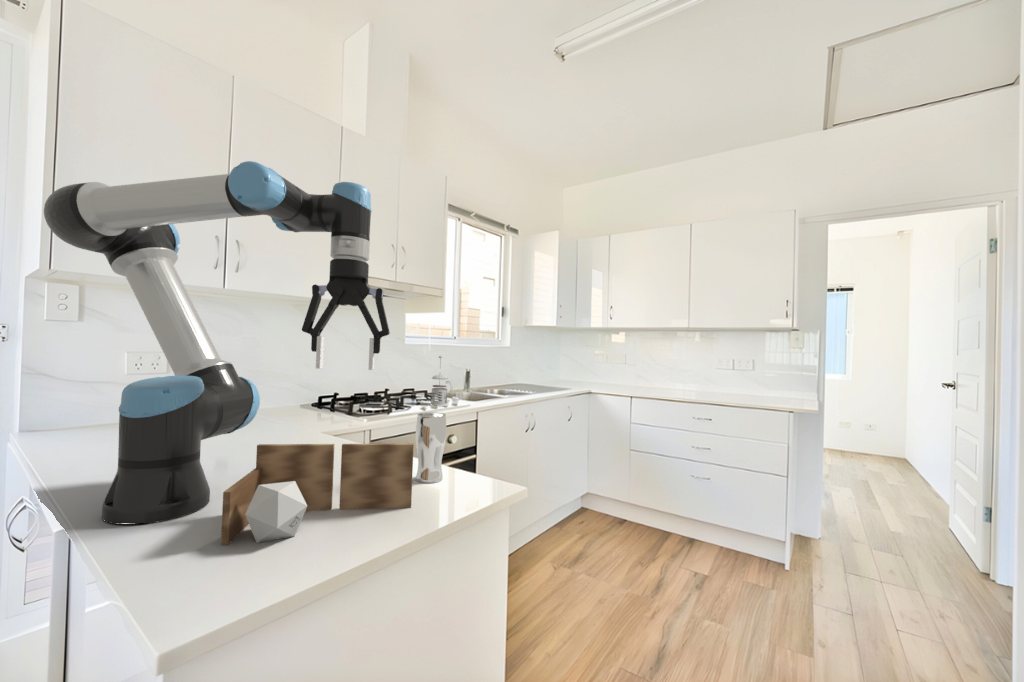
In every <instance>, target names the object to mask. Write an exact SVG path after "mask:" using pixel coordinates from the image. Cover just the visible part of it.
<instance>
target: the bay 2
mask: <svg viewBox="0 0 1024 682" xmlns="http://www.w3.org/2000/svg"><path fill="white" fill-rule="evenodd" d="M414 447H415V445H414V443H410V442H409V443H408V442H407V443H342V444H341V457H340V458H341V459H340V460H341V462H340V482H339V485H340V486H339V487H340V488H339V508H338V510H340V511H343V510H346V511H347V510H370V509H371V510H373V509H374V510H376V509H377V510H379V509H406V508H410V509H411V508H412V495H413V494H412V492H413V473H414V472H413V470H414V469H413V468H414V467H413V466H414Z"/></svg>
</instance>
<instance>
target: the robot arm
mask: <svg viewBox="0 0 1024 682" xmlns="http://www.w3.org/2000/svg"><path fill="white" fill-rule="evenodd" d="M332 186H333V187H332V191H331V194H310V193H308V192H306V191H304V190H303V189H301V188H299V186H297V185H295V184H294V183H292V182H290V181H289V180H287V179H286V178H284V177H283V176H282V175H281V174H279V173H277V171H275V170H273V168H271V167H268V166H266V165H264V164H262V163H259V162H258V161H257V162H256V161H252V160H251V161H249V160H247V161H243V162H240V163H239V164H238V165H236V166H235V167H233V168H232V169H231V171H230V173H224V174H215V175H207V176H206V175H205V176H196V177H185V178H175V179H169V180H158V181H149V182H147V181H146V182H141V183H138V182H137V183H130V184H121V185H112V186H110V185H107V184H105V183H102V182H98V181H91V182H82V183H80V182H79V183H74V184H69V185H66V186H62V187H60V188H58V189H56V190H55V191H53V192H52V193H51V194H50V195H49V196H48V198H47V199H46V200H45V203H44V207H43V216H44V219H45V222H46V225H47V226H48V228H49V229H50V231H51V232H52V233H53V234H54V235H55V236H56V237H58V238H59V239H60V240H62V241H63V242H65V243H66V244H68V245H70V246H72V247H75V248H77V249H81V250H86V251H89V252H94V253H98V254H99V253H100V254H102V255H104V256H105V258H106V260H107V262H108V264H109V266H110V268H111V270H112V271H113V272H114V274H117V275H120V276H122V277H124V278H125V279H126V280H127V281H128V284H129V286H130V288H131V290H132V292H133V293H134V296H135V298H136V300H137V302H138V305H139V306H140V308H141V310H142V312H143V314H144V316H145V318H146V320H147V323H148V325H149V326H150V328H151V330H152V332H153V334H154V336H155V338H156V340H157V342H158V344H159V347H160V348H161V350H162V352H163V354H164V356H165V359H166V360H167V362H168V365H169V367H170V369H171V371H172V372H173V374H174V375H167V376H158V377H157V376H156V377H151V378H144V379H141V380H137V381H133V382H131V383H128V384H127V385H126V386H124V388H123V390H122V391H121V397H120V398H121V399H120V404H119V407H118V413H119V417H118V422H119V423H118V453H117V456H118V457H117V459H118V460H117V470H116V474H115V476H114V478H113V480H112V482H111V485H110V486H109V489H108V492H107V493H106V496H105V498H104V499H103V502H102V506H101V507H102V508H101V519H102V520H103V521H104V520H105V521H107V522H106V523H108V522H112V523H144V524H148V523H147V522H152V523H157V521H158V522H163V521H164V522H165V521H169V520H172V519H177V518H180V517H185V516H187V515H190V514H192V513H195V512H197V511H199V510H202V509H203V508H204V507H206V506H208V505H209V503H210V498H211V497H210V496H211V490H210V489H211V488H210V486H209V482H208V479H207V477H206V475H205V471H204V469H203V465H202V464H201V447H202V445H201V444H202V441H203V440H206V439H210V438H213V437H218V436H221V435H227V434H232V433H234V432H235V431H237V430H240V429H243V428H245V427H246V426H248V425H249V424H250V423H251V422H252V421H253V420H254V419H255V417H256V416H257V413H258V410H259V408H260V404H261V403H260V402H261V401H260V400H261V398H260V397H261V396H260V394H259V390H258V387H257V386H256V384H255V383H254V382H253V381H251V380H249V379H247V378H245V377H243V376H239V375H238V372H237V370H236V369H235V366H234V365H233V363H232V362H231V361H230V362H229V361H227V360H223V359H221V357H220V355H219V352H218V351H217V349H216V347H215V345H214V343H213V341H212V339H211V337H210V335H209V333H208V332H207V329H206V327H205V325H204V323H203V321H202V319H201V317H200V315H199V313H198V311H197V309H196V307H195V305H194V303H193V301H192V299H191V297H190V295H189V294H188V291H187V290H186V289H187V288H185V285H184V283H183V282H182V281H183V280H181V277H180V275H179V273H178V271H177V270H176V267H175V264H176V263H177V261H178V259H179V258H178V257H179V256H178V252H179V249H180V248H179V247H178V246H179V244H181V239H180V234H179V232H178V229H177V228H176V225H175V224H186V223H193V222H201V221H202V222H204V221H211V220H212V221H214V220H222V219H232V218H233V219H234V218H243V217H253V216H254V217H256V216H267V217H270V219H271V220H272V223H274V224H275V226H276V228H277V229H279V230H281V231H285V232H294V233H304V232H305V233H306V232H307V233H330V234H331V236H330V252H329V253H330V254H329V255H330V257H331V258H332V259H331V260H330V261H329V280H328V282H327V284H325V285H318V284H313V285H312V286H311V290H312V296H311V299H310V301H309V306H308V308H307V312H306V314H305V317H304V321H303V324H302V327H301V331H302V332H304V333H306V334H309V335H310V336H311V342H310V345H311V346H310V347H311V348H310V350H311V352H314V353H316V355H315V356H316V357H315V369H318V370H319V369H323V368H324V350H325V349H324V347H325V336H321V333H322V332H323V331H324V329H325V327H326V326H327V324H328V322H329V321H330V320H331V317H332V316H333V315H334V313H335V312H336V310H337V309H338V307H339V306H345V307H346V306H352V307H358V309H359V310H360V312H361V314H362V316H363V318H364V321H365V322H366V325H367V326H368V328H369V330H370V331H371V334H372V335H373V337H372V338H371V337H370V338H369V349H368V350H369V351H368V370H369V371H370V370H371V371H372V370H374V369H375V354H379V353H380V352H381V339H382V338H383V337H386V336H389V335H390V334H391V333H390V327H389V324H388V319H387V315H386V310H385V308H384V302H383V299H384V298H383V297H384V290H383V289H382V288H380V287H378V288H376V287H375V288H373V287H370V284H369V271H370V270H369V267H370V266H369V263H368V261H370V246H371V245H370V244H371V243H370V239H371V238H370V235H371V218H372V217H371V215H372V198H371V192H370V190H369V189H368V188H367V187H366V186H365V185H362V184H359V183H355V182H350V181H341V182H337V183H336V182H335V183H334V185H332ZM326 292H328V294H329V295H330V296H331V299H330V301H329V302H328V304H327V306H326V308H325V309H324V311H323V312H322V314H321V315H320V317H319V319H318V321H317V322H316V324H315V325H314V323H315V320H316V316H317V314H318V310H319V308H320V304H321V301H322V297H323V296H325V293H326ZM369 294H371V298H373V299H374V300H375V305H376V310H377V313H378V319H379V322H380V327H381V330H379V329H378V327H377V324H376V323H375V321H374V318H373V317H372V315H371V312H370V311H369V309H368V307H367V305H366V302H365V299H366V298H367V296H369ZM313 326H314V327H313ZM105 521H104V522H105ZM112 523H111V524H112Z"/></svg>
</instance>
